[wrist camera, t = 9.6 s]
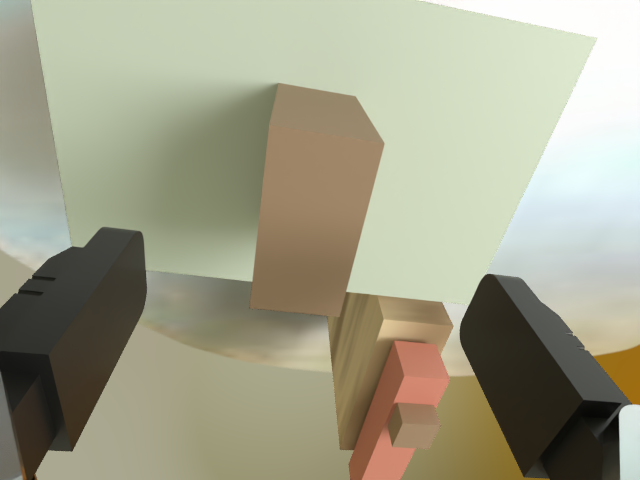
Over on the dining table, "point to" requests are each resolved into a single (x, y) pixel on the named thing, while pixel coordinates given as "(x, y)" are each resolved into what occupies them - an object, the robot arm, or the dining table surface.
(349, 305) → the wooden box
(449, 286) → the lid
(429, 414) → the key bar
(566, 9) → the dining table surface
